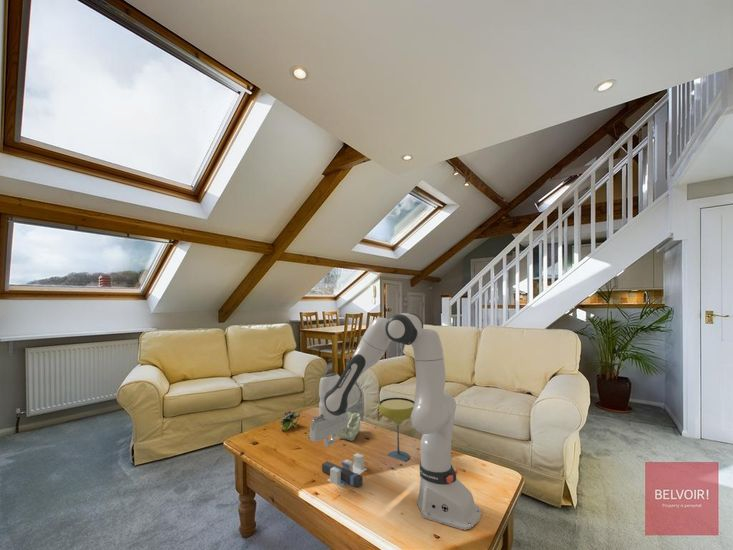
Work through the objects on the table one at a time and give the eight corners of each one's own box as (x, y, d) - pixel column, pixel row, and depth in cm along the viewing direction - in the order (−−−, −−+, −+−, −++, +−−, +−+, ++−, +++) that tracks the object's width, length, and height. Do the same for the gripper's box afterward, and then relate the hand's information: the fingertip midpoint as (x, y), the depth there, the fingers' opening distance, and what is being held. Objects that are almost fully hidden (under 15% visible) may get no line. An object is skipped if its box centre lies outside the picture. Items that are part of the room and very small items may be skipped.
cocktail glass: (405, 445, 170) (404, 395, 171) (425, 461, 153) (423, 406, 155) (373, 452, 162) (372, 400, 164) (390, 469, 146) (389, 412, 147)
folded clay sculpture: (351, 453, 175) (350, 433, 169) (332, 442, 182) (330, 422, 175) (369, 429, 189) (369, 409, 182) (350, 419, 195) (350, 400, 189)
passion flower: (287, 435, 196) (293, 414, 203) (300, 436, 190) (306, 414, 198) (274, 429, 189) (281, 408, 197) (287, 429, 184) (293, 408, 191)
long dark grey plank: (362, 484, 132) (362, 475, 132) (357, 487, 130) (357, 479, 130) (327, 468, 144) (327, 460, 145) (321, 471, 142) (321, 463, 142)
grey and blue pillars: (368, 472, 144) (367, 457, 144) (341, 491, 130) (341, 473, 131) (353, 466, 149) (353, 451, 149) (326, 483, 136) (326, 467, 136)
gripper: (316, 420, 133) (316, 456, 132) (350, 407, 149) (350, 438, 148) (306, 417, 137) (306, 451, 136) (339, 404, 153) (340, 435, 152)
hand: (329, 444), depth 142 cm, fingers closed
